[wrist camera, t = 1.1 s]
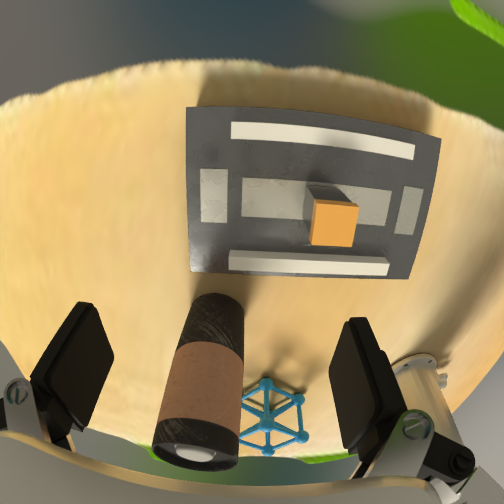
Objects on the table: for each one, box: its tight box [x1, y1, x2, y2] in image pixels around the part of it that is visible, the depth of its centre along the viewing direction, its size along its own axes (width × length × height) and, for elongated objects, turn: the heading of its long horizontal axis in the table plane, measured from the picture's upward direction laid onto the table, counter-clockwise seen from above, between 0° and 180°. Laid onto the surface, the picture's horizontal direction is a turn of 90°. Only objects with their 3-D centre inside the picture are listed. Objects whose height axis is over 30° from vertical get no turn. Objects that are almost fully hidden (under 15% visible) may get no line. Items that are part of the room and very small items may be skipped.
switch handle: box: [302, 185, 359, 247], centre depth 22 cm, size 3×3×5 cm
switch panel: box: [186, 106, 441, 279], centre depth 26 cm, size 24×16×5 cm, turn 87°
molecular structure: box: [239, 378, 309, 456], centre depth 41 cm, size 10×10×10 cm
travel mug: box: [152, 293, 244, 472], centre depth 28 cm, size 8×8×20 cm
